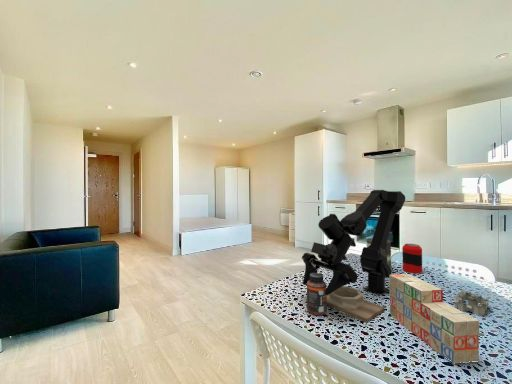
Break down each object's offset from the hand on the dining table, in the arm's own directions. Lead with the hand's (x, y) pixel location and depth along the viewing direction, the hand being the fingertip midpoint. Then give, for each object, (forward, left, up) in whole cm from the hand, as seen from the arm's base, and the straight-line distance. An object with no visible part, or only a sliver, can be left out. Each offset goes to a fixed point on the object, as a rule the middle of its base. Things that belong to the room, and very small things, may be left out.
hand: (314, 289), depth 74 cm
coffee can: (-54, -6, -7) cm, 55 cm away
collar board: (-12, +3, -7) cm, 14 cm away
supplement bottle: (-1, 0, -7) cm, 7 cm away
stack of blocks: (-13, +26, -7) cm, 30 cm away
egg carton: (-41, +29, -7) cm, 51 cm away
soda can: (-65, +4, -7) cm, 66 cm away
